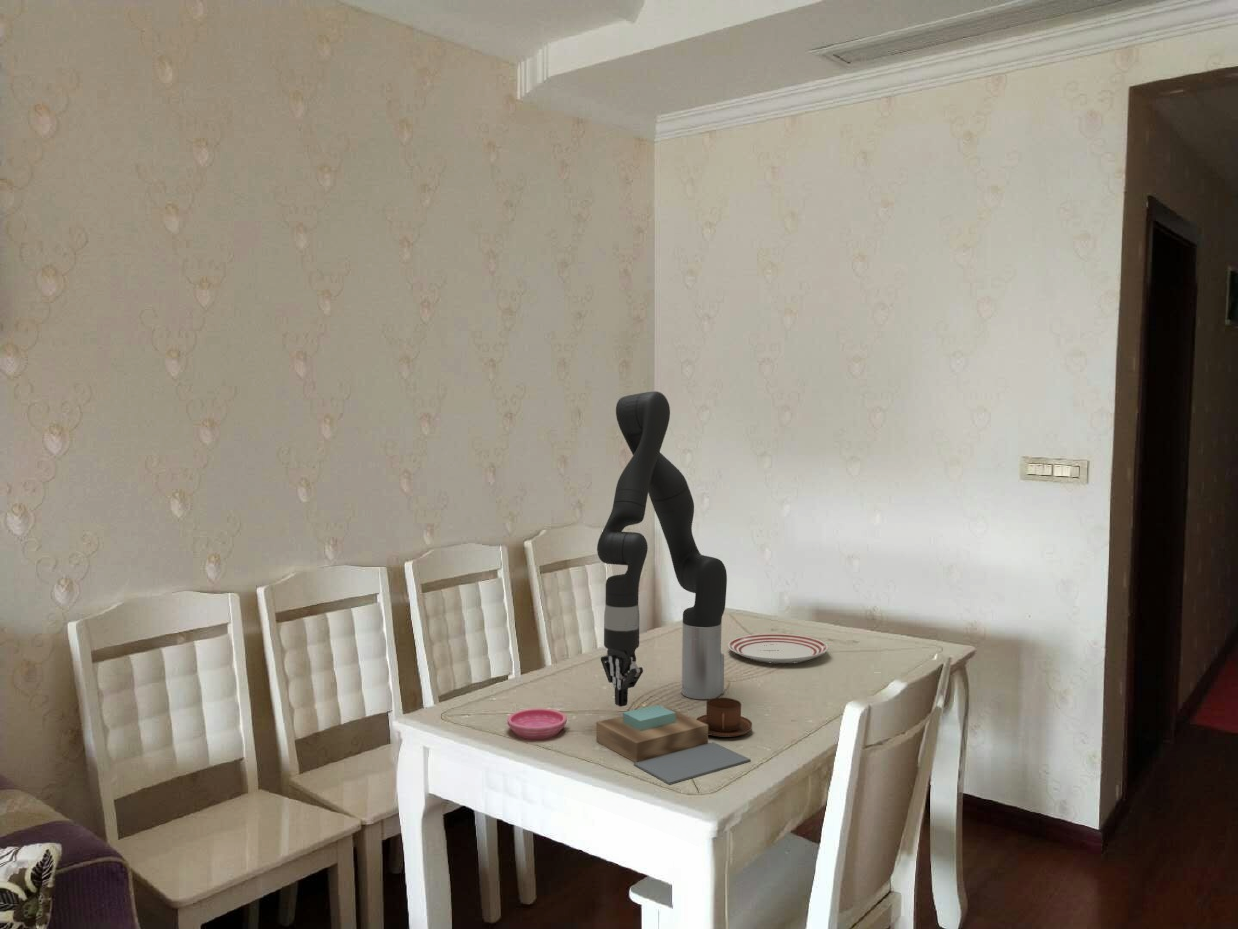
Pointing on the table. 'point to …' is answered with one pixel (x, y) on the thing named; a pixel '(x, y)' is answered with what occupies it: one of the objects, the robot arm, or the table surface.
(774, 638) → the dinner plate
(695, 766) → the mat
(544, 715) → the pink round bowl
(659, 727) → the wooden block
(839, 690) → the table surface
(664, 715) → the teal rectangular block
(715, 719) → the cup and saucer
